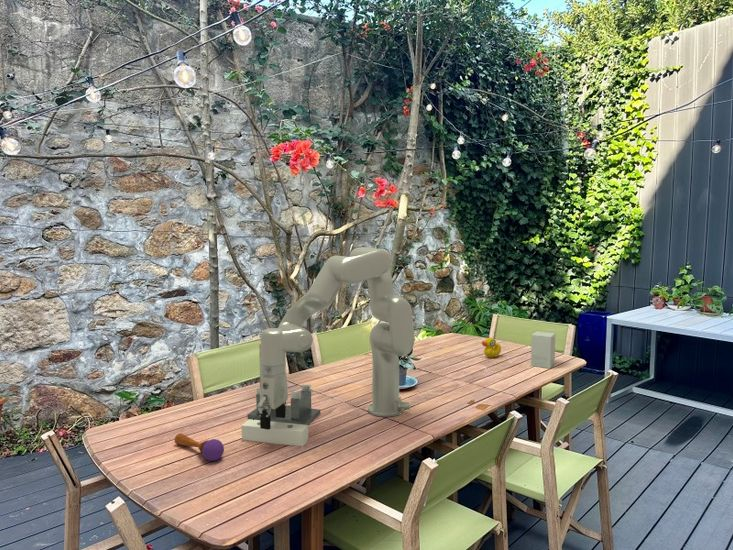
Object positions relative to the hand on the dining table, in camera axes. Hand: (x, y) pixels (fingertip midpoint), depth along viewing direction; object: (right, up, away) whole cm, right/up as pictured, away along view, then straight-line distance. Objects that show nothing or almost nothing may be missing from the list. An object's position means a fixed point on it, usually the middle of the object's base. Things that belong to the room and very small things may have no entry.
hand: (273, 422), depth 161 cm
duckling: (+90, +5, +95) cm, 131 cm away
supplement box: (+111, +3, +82) cm, 138 cm away
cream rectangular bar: (0, -6, +1) cm, 6 cm away
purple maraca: (-21, -7, -8) cm, 23 cm away
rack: (0, -3, +20) cm, 20 cm away
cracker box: (-8, -1, +46) cm, 46 cm away
